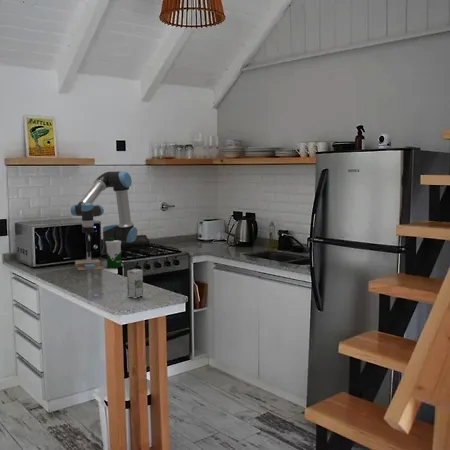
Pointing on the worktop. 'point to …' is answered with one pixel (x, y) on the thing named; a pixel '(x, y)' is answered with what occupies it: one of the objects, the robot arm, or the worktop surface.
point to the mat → (89, 269)
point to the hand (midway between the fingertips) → (89, 261)
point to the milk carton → (113, 253)
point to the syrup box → (135, 282)
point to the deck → (83, 262)
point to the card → (89, 266)
